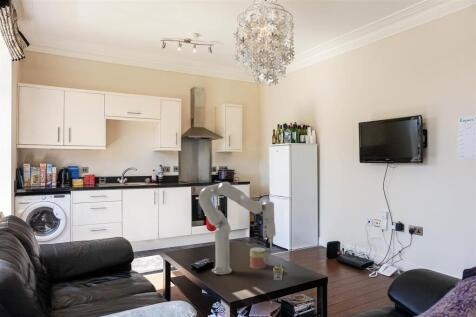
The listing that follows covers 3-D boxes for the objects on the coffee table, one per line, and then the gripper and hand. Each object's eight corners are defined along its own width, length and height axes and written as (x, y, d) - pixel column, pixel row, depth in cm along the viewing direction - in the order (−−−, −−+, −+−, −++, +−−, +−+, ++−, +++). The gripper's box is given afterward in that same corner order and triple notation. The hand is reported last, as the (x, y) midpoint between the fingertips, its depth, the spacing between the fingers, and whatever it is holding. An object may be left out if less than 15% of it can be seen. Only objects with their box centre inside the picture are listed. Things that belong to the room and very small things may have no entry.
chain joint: (283, 280, 203) (283, 276, 203) (272, 280, 204) (272, 276, 204) (283, 267, 230) (282, 263, 230) (273, 266, 231) (273, 263, 231)
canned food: (264, 269, 226) (264, 251, 226) (248, 268, 228) (248, 251, 228) (266, 264, 237) (266, 247, 237) (251, 263, 239) (251, 247, 239)
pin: (270, 251, 215) (270, 236, 215) (265, 250, 217) (265, 235, 217) (273, 250, 218) (272, 235, 218) (268, 249, 220) (267, 234, 220)
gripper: (268, 222, 209) (268, 250, 209) (279, 218, 223) (279, 245, 223) (257, 221, 213) (258, 249, 213) (269, 217, 227) (269, 244, 227)
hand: (269, 247), depth 218 cm, fingers closed on pin, 3 cm apart
